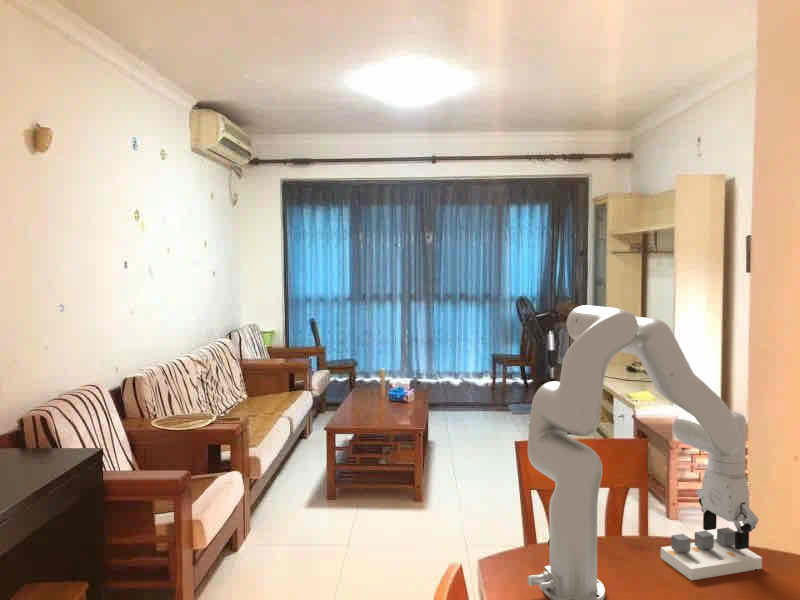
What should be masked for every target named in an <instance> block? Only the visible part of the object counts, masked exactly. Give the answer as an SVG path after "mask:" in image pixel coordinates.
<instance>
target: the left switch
mask: <svg viewBox="0 0 800 600" xmlns="http://www.w3.org/2000/svg"><path fill="white" fill-rule="evenodd" d="M690 543H691V537H688V536H687V535H686V534H684V533H680V534H679V533H678V534H673V535H671V545H670V546H671V548H672V549H673V550H675V551H676V552H678V553H684V552H690Z"/></svg>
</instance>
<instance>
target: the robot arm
mask: <svg viewBox="0 0 800 600" xmlns="http://www.w3.org/2000/svg"><path fill="white" fill-rule="evenodd" d="M566 329H567V332H568V335H569V336H570V337H571V338H572V339H573V340H574V341H573V342H572V343H571V345H569V347H568V349H567V350H566V352H565V355H564V357H563V360H562V365H561V371H560V375H559V377H560V378H559V381H556V380H555V381H548V382H545V383H544V384H542V385H541V386H540V387H539V388H538V389H537V390H536V392H535V394H534V396H533V398H532V402H531V407H530V416H529V417H530V418H529V426H528V437H527V456H528V460H529V462H530V464H531V465H532V467H533V468H534V469H535V470H537V471H538V472H539V473H541V474H542V475H544V476H545V477H547V478H549V479H550V480H551V481H553V482H554V483H555V487H554V489H553V492H552V494H551V496H550V499H549V506H548V508H549V510H548V512H549V513H548V517H549V521H548V522H549V525H548V526H549V530H548V532H549V538H550V548H549V565H546V566H544V571H543V572H541V574H533V575H528V576H527V583H528V585H529V587H532V586H538V587H539V590H540V591H543V593H544V594H545V595H546V596H547V597H548V598H549V599H550V600H604V599H605V598H606V588H605V586H604V584H603V582H602V581H600V580H599V579H598V505H599V504H598V502H599V501H598V499H599V492H600V487H601V483H602V482H601V481H602V477H603V464H602V461H601V458H600V456H599V454H597V452H596V451H595V450H594V449H593V448H591V447H590V446H588V445H587V444H586V443H583V442H581V441H579V440H577V439H575V438H572V437H570V436H568V434H570V435H574V436H576V437H588V436H590V435H593V434H594V433H595V432H596V431H597V429H598V427H599V423H600V419H601V411H602V401H603V390H604V382H605V377H606V376H605V375H606V371H607V369H608V366H609V364H610V362H611V361H612V359H614V357H615V356H616V355H617V354H619V353H620V352H621V353H623V354H629V355H635V356H636V357H637V358H638V360H639V361H640V363H641V365H642V367H643V369H644V371H645V372H646V374H647V376H648V377H649V379H650V382H651V383H652V384H651V385H653V387H654V388H653V389H655V391H656V392H658V394H660V395H661V396H662V397H663V398H665V399H666V400H668V402H669V401H670V403H672V404H674V405H676V406H677V407H679V408H681V409H682V410H683V411H685V412H684V413H681V414H680V415H678V416H677V417H676V418H675V420H673V423H672V433H673V435H674V436H675V438H676V439H677V440H678V441H679V442H681V443H682V444H684V445H687V446H690V447H692V448H694V449H697V450H701V451H704V452H706V453H707V466H705V468H704V469H705V470H704V472H703V477H702V482H701V483H702V484H701V488H700V489H697V490H696V493H697V496H698V503H699V504H700V507H701V509H700V510H701V512H702V513H703V515H702V517H703V519H702V529H703V531H710V530H717V517H720V518H722V519H724V520H725V521H728V522H733V524H734V527H735V528H736V530H734V531H735V548H736V549H737V550H740V549H746V548H747V549H749V548H750V532H751V533H752V531H753V530H754V529H756V526H757V524H758V523H759V518H758V517H757V515H756V514H755V513H754V512H753V511H752V510H751V508H750V491H749V484H748V483H749V482H748V480H747V479H748V478H747V475H746V453H747V451H746V450H747V449H746V448H747V446H746V445H747V420H746V416H744V415H743V414H742V413H740V412H738V411H733V410H730V408H729V407H728V405H727V404H726V402H725V401H724V400H723V399H722V398H721V397H720V396H719V395H718V394H717V393H716V392H714V391H713V390H712V389H711V388H710V387H709V385H707V384H706V383H705V382H704V381H703V380H701V378H699V377H698V376H697V375H696V374H695V373H694V371H693V370H692V368H691V366H690V363H689V362H688V360H687V358H686V357H685V355H684V354H685V353H684V352H683V349H682V348H681V346H680V344H679V343H678V340H677V338H676V337H675V336H674V333H673V331H672V329H671V327H670V326H669V324H667V323H666V322H664V321H663V320H660V319H658V318H657V319H656V318H652V317H644V316H643V317H642V316H636V315H634V314H633V313H632V312H630V311H628V310H626V309H622V308H619V307H618V308H617V307H611V306H610V307H609V306H599V305H598V306H597V305H591V304H589V305H588V304H587V305H586V304H585V305H579V306H577V307H575V308H573V310H572V311H570V312H569V314H568V316H567V319H566ZM741 522H742V524H743V525H741ZM549 538H548V539H549Z"/></svg>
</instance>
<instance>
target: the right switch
mask: <svg viewBox="0 0 800 600" xmlns="http://www.w3.org/2000/svg"><path fill="white" fill-rule="evenodd" d="M735 531H736V530H733V528H730V527H721V528H716V539H717V542H718V543H720V544H722V545H723V546H731V545H735Z"/></svg>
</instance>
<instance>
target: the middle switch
mask: <svg viewBox="0 0 800 600" xmlns="http://www.w3.org/2000/svg"><path fill="white" fill-rule="evenodd" d="M714 538H715V537H714V534H712V533H710V532H709V531H708V530H702V531H695V532H694V542H695V546H697V547H698V548H700V549H701V550H705V549H711V548H713V546H714Z"/></svg>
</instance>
